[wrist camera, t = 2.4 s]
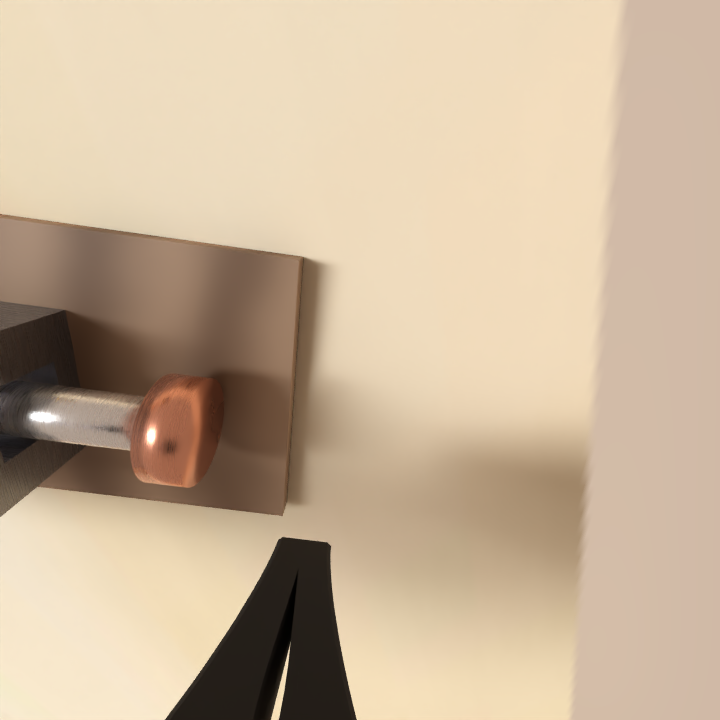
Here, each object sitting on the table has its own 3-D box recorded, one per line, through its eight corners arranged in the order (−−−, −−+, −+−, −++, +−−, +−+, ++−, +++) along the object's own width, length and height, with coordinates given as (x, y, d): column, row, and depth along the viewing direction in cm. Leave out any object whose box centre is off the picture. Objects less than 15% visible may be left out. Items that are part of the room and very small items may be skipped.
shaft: (223, 361, 16) (172, 413, 12) (224, 442, 17) (180, 513, 13) (-6, 331, 15) (-141, 374, 11) (18, 417, 17) (-92, 480, 13)
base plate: (303, 256, 15) (299, 259, 14) (286, 502, 21) (282, 515, 20) (-151, 192, 15) (-187, 191, 14) (-46, 462, 20) (-66, 474, 19)
